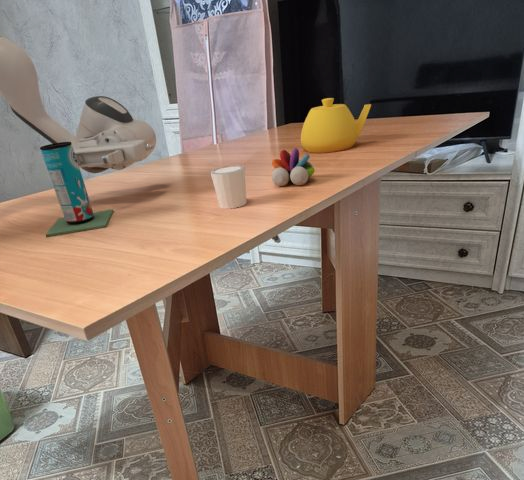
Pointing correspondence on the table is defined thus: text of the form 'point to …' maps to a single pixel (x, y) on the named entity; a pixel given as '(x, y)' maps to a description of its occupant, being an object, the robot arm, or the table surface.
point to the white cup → (230, 186)
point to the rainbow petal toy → (291, 168)
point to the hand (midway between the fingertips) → (86, 162)
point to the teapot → (331, 127)
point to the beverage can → (68, 182)
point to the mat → (65, 228)
